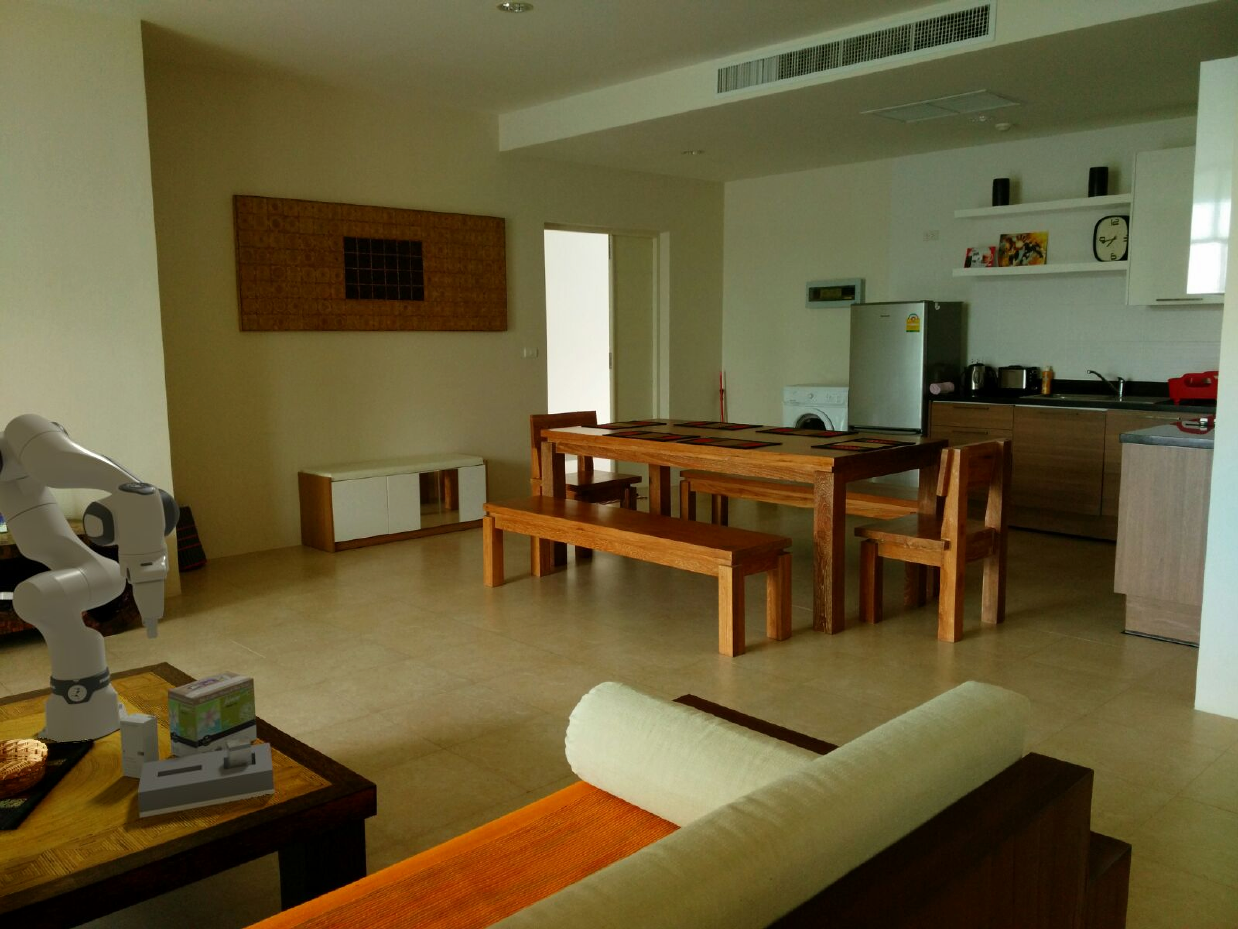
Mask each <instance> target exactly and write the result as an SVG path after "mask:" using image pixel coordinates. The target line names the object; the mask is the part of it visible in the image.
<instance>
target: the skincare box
mask: <svg viewBox="0 0 1238 929" xmlns="http://www.w3.org/2000/svg"><path fill="white" fill-rule="evenodd" d="M158 732H159V730H158V716H156V715H150V714H145V713H137V712H134V713H131V714H129V715H128V716H127V717H125V718H123V719H122V720H120V744H121V746H120V748H121V749H120V750H121V764H122V775H123V776H124V777H129V778H136V779H140V778H141V773H142V767H143V763H147V762H153V761H159V760H160V753H159V752H160V750H159V734H158Z"/></svg>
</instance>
